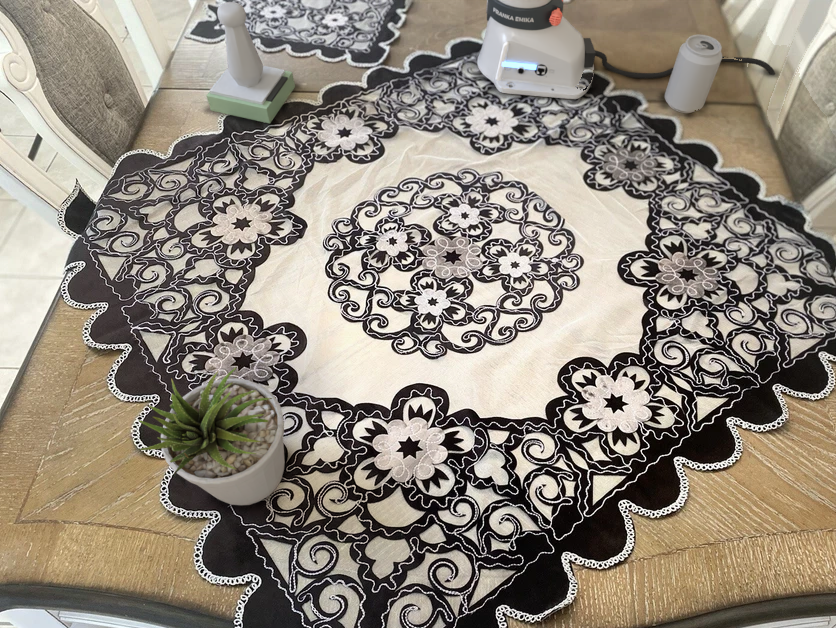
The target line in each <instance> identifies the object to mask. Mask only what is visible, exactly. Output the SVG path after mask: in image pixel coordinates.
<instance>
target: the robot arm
mask: <svg viewBox="0 0 836 628" xmlns="http://www.w3.org/2000/svg"><path fill="white" fill-rule="evenodd" d="M564 4H565V3H564V0H486V9H485V10H486V12H485V14H486V22H487V23H486V29H485V33H484V37H483V38H484V39H483V43H482V45H481V48H480V51H479V53H478V55H477V60H476V65H477V67H478V70H479V71H480V73H481V74H482V75H483V76H484V77H486V78H487V79H488V80H489V81H490V82H492V83H493V84H494V86H495V88H496V90H497V91H499V93H502V94H508V95H509V94H510V95H521V96H533V97H534V96H535V97H544V98H554V99H566V100H567V99H568V100H578V99H580V98H581V97H583V96H585V94H586V93H587V92H588V91H589V89H590V88H591V86H592V82H593V79H594V76H593V77H592V80H591V83H590V84H589V86H588V87H587V89H586V90H584V91H583V89H585V88H586V86H585V85H582V84H579V81H580V79H581V77H582V74H583V71H584V69H592V70H594V71H595V65H594V63H595V59H596V57H597V58H599V59H601V65H602V66H603V68H605V69H606V70H607V71H609V72H611V73H615V74H618V75H621V76H623V77H628V78H632V79H643V80H644V79H647V80H648V79H650V80H651V79H652V80H653V79H662V78H665V77H668V76H671V74H672V71H673V68H674V66H673V67H670V68H669V69H667V70H664V71H660V72H631V71H626V70H623V69H619V68H617V67H615V66H613V65H611V63H609V62H608V57H607V55H606V54H605V53H603V52H602V51H600V50H596V49H595V47H594V44H593V41H592V40H591V37H584V36H583V34H582V32H581V31H579V30H578V29H577V28H576V27H575V26H574V25H573V24H572V23H571V22H570V21H569V20H567V18H566V17H565V16H564V15H563V12H564ZM724 57H725V56H722V58H724ZM733 57H734V58H736V59H738V60H734V59H722V60H721V62H720V63H736V64H752V65H756V66H759V67H761V68H763V69H764V70H766V71H767V73H768V74H769V75H771V76H775V75H776V72H775V70H774V68H773V67H772V66H771V65H770V64H769V63H767V62H766V61H764V60H762V59H758V58H753V57H738V56H733ZM739 59H740V60H741V59H742V61H739ZM593 75H594V73H593ZM577 84H579V85H577ZM575 86H577V87H578V89H577V88H576V87H575ZM580 89H581V90H580Z"/></svg>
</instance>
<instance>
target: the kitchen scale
mask: <svg viewBox="0 0 836 628" xmlns="http://www.w3.org/2000/svg"><path fill="white" fill-rule="evenodd" d="M295 88H296V85H295V79H294V73H293V72H292V71H289V70H285V69H282V68H277V67H272V66H267V65H263V72H262V75H261V79H260V81H259V83H258V85H255V86H251V87H248V88H247V87H244V86H240V85H238V84H237V83H236V81H235V80H234V79H233V77H232V76H231V75H230V73H229V71H228V67H226V69H225V70H224V72H223V73H222V74H221V76H220V77H219V78H218V79H217V80H216V82H214V84H213V86H211V88H210V89H209V90H208V93H207V94H206V99H207V102H208V105H209V109H210V111H212V112H215V113H221V114H225V115H229V116H234V117H238V118H244V119H247V120H252V121H257V122H261V123H265V124H271V123H272V122H273V120H274V118H275V117H276V116H277V114H278V113H279V111H280V110H281V108H282V107H283V106H284V104H285V102H286V101H287V99H288V98H289V97H290V95H291V93H292V92H293V91H294V89H295Z"/></svg>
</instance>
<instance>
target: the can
mask: <svg viewBox="0 0 836 628" xmlns="http://www.w3.org/2000/svg"><path fill="white" fill-rule="evenodd" d="M722 49H723V47H722V44H721V42H720V41H718V39H717V38H715V37H712V36H710V35H707V34H692V35H690V36H689V37H687V38H686V40H685V42H683V43H682V44H681V45H680V46H679V50H678V53H677V55H676V59H675V62H674V65H673V67H674V68H673V67H672V68H673V71H672V74H671V75H670V77H669V80H668V83H667V86H666V89H665V92H664V100H665V102H666V103H667V104H668V106H669V107H670V108H671V109H673V110H674V111H675V112H678V113H681V114H691V113H694V112H696V111H699V110H701V109H702V108H703V107H704V105H705V103H706V101H707V98H708V95H709V93H710V90H711V88H712V85H713V83H714V80H715V77H716V75H717V72H718V70H719V67H720V65H721V63H722V62H721V60H722V57H723V53H722ZM698 109H699V110H698ZM694 110H696V111H694Z"/></svg>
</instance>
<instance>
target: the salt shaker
mask: <svg viewBox="0 0 836 628" xmlns="http://www.w3.org/2000/svg"><path fill="white" fill-rule="evenodd" d="M216 13H217V19H218V21H219V22H220V24H221V25H222V26H224V35H225V45H226V46H225V48H226V61H227V63H226V64H227V68H228V71H229V73H230V75H231V76H232V77H233V79H234V80H235V81H236V83H237V84H238V85H240V86H244V87H247V88H248V87H251V86H255V85H258V83H259V81H260V79H261V75H262V72H263V66H264V63H263V62H262V59H261V57H260V54H259V52H258V50H257V48H256V46H255V44H254V41H253V39H252V37H251V35H250V31H249V30H248V27H247V25H246V22H247V11H246V10H245V8H244V6H243V5H241V4H240V3H238V2H235V1H227V2H224V3H221V4H220V5H219V6H218V7H217V11H216Z"/></svg>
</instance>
